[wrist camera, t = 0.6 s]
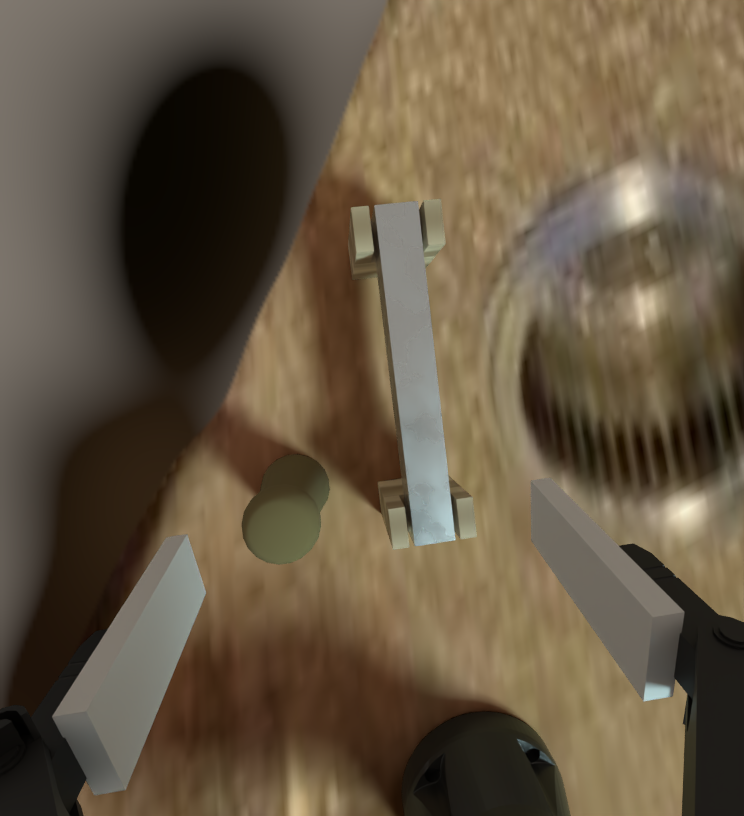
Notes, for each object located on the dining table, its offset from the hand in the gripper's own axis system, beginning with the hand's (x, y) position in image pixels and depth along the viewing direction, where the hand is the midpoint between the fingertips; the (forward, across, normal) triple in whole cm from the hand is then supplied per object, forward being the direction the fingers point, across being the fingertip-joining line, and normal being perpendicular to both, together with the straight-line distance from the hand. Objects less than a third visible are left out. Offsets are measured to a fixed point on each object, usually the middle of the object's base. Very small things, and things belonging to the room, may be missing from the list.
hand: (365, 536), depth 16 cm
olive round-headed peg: (+20, +6, +8) cm, 23 cm away
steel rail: (+18, -5, -1) cm, 18 cm away
